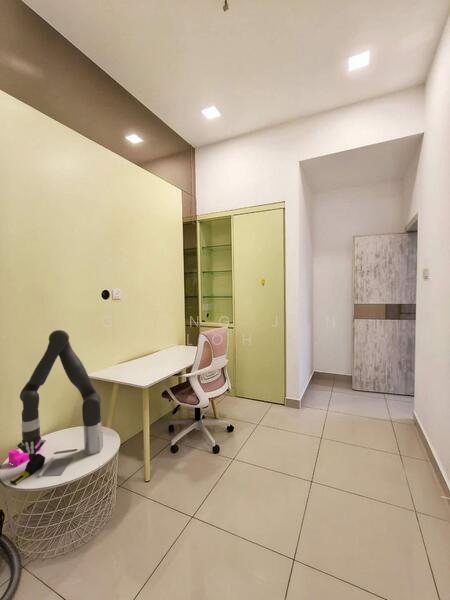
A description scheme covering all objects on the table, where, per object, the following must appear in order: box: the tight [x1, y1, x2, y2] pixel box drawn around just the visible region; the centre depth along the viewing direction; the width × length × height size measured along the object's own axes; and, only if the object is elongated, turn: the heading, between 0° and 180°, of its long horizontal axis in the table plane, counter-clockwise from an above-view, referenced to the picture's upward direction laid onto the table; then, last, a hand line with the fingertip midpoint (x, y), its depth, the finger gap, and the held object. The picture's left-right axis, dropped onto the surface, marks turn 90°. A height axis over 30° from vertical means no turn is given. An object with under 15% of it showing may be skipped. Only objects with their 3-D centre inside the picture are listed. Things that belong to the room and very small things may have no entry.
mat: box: [37, 456, 73, 478], centre depth 141 cm, size 10×14×2 cm
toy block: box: [7, 443, 41, 467], centre depth 149 cm, size 15×6×8 cm, turn 164°
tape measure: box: [9, 453, 46, 486], centre depth 134 cm, size 15×4×8 cm, turn 166°
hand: (32, 459), depth 139 cm, fingers closed
